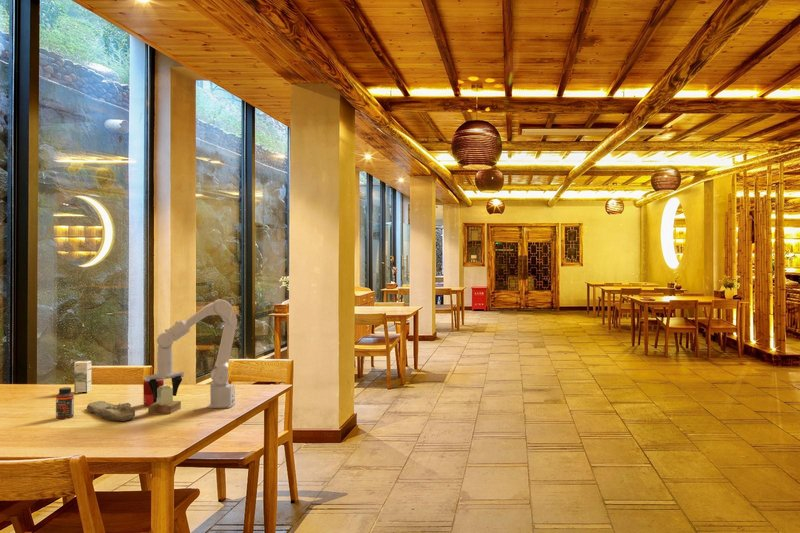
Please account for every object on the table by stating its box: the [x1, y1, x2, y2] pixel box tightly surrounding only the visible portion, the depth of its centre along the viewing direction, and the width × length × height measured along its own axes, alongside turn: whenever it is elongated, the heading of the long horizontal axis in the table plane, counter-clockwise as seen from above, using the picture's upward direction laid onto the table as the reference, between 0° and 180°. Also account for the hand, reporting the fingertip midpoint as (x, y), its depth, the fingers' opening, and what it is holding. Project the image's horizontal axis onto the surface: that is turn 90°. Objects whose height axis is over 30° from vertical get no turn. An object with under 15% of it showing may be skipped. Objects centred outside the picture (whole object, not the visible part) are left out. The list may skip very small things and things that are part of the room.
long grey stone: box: [86, 400, 136, 422], centre depth 231 cm, size 35×5×10 cm
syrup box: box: [73, 360, 92, 393], centre depth 275 cm, size 6×6×14 cm
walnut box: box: [147, 400, 182, 415], centre depth 236 cm, size 9×9×4 cm
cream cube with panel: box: [157, 385, 174, 405], centre depth 235 cm, size 5×5×7 cm
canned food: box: [142, 377, 165, 407], centre depth 248 cm, size 8×8×11 cm
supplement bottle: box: [55, 386, 75, 420], centre depth 225 cm, size 6×6×11 cm
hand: (164, 397), depth 236 cm, fingers open, 7 cm apart
